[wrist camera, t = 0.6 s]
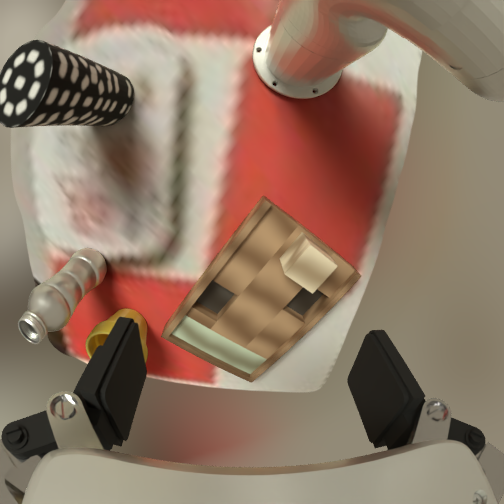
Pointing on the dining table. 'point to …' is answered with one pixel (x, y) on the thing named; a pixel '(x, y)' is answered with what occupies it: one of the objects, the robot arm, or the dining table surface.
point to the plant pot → (104, 328)
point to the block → (307, 263)
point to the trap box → (254, 297)
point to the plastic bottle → (61, 294)
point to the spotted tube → (60, 89)
